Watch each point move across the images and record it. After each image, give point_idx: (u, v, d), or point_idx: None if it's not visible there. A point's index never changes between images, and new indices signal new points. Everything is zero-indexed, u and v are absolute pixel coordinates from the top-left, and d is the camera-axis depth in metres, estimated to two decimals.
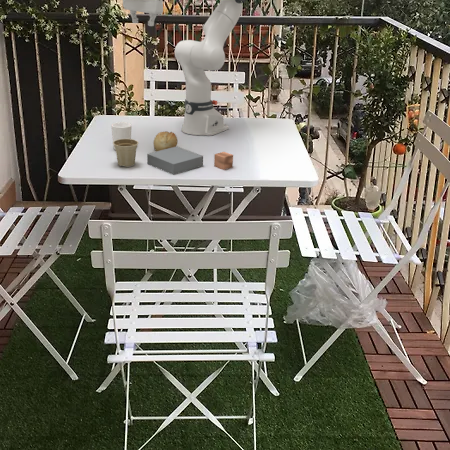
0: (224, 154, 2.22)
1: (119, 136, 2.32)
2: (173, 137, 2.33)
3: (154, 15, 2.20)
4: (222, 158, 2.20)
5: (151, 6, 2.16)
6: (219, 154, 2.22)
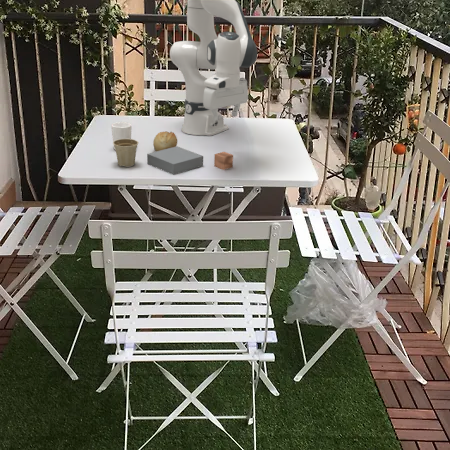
0: (224, 154, 2.22)
1: (119, 136, 2.32)
2: (173, 137, 2.33)
3: None
4: (222, 158, 2.20)
5: (243, 96, 2.17)
6: (219, 154, 2.22)
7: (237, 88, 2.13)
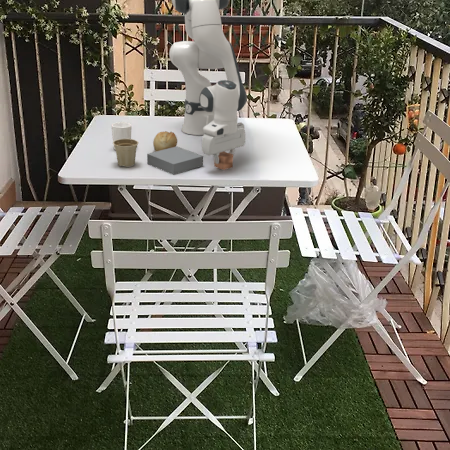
0: (224, 154, 2.22)
1: (119, 136, 2.32)
2: (173, 137, 2.33)
3: None
4: (222, 158, 2.20)
5: (241, 140, 2.24)
6: (219, 154, 2.22)
7: (235, 133, 2.20)
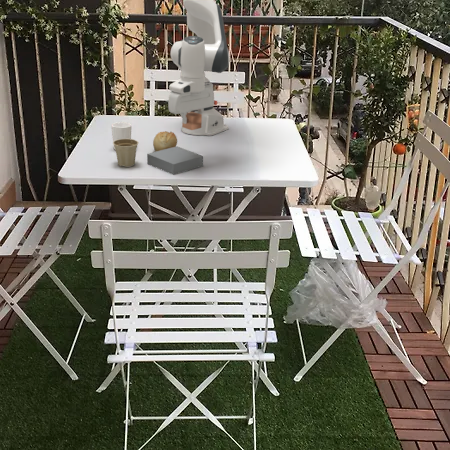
0: (193, 114, 2.15)
1: (119, 136, 2.32)
2: (173, 137, 2.33)
3: None
4: (190, 117, 2.13)
5: (209, 100, 2.17)
6: (187, 114, 2.15)
7: (203, 92, 2.13)
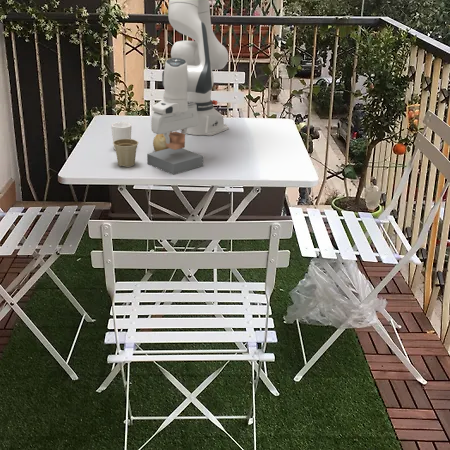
0: (176, 133, 2.19)
1: (119, 136, 2.32)
2: None
3: None
4: (173, 137, 2.16)
5: (193, 120, 2.20)
6: (170, 134, 2.18)
7: (186, 112, 2.16)
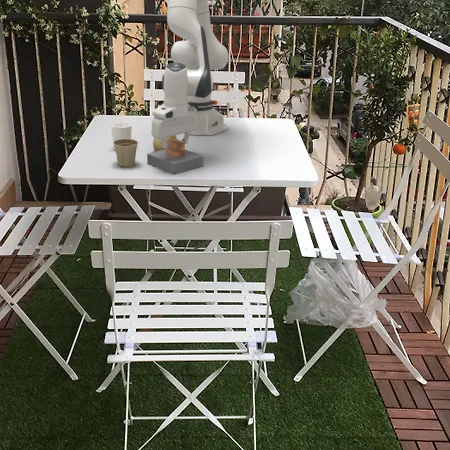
0: (176, 141, 2.20)
1: (119, 136, 2.32)
2: (172, 137, 2.33)
3: None
4: (173, 145, 2.17)
5: (193, 124, 2.21)
6: (171, 142, 2.20)
7: (186, 117, 2.17)
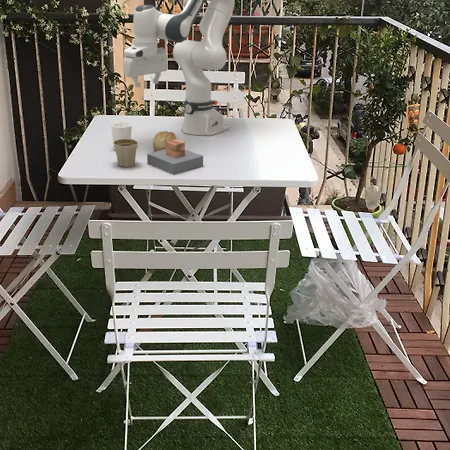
0: (176, 141, 2.20)
1: (119, 136, 2.32)
2: (172, 137, 2.33)
3: None
4: (173, 145, 2.17)
5: (163, 65, 2.34)
6: (171, 142, 2.20)
7: (156, 57, 2.30)
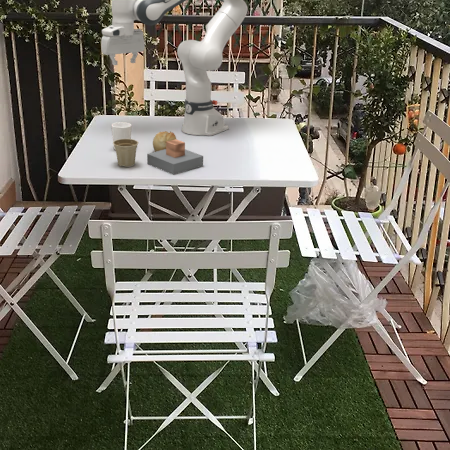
0: (176, 141, 2.20)
1: (119, 136, 2.32)
2: (172, 137, 2.33)
3: None
4: (173, 145, 2.17)
5: (140, 45, 2.50)
6: (171, 142, 2.20)
7: (133, 37, 2.46)
